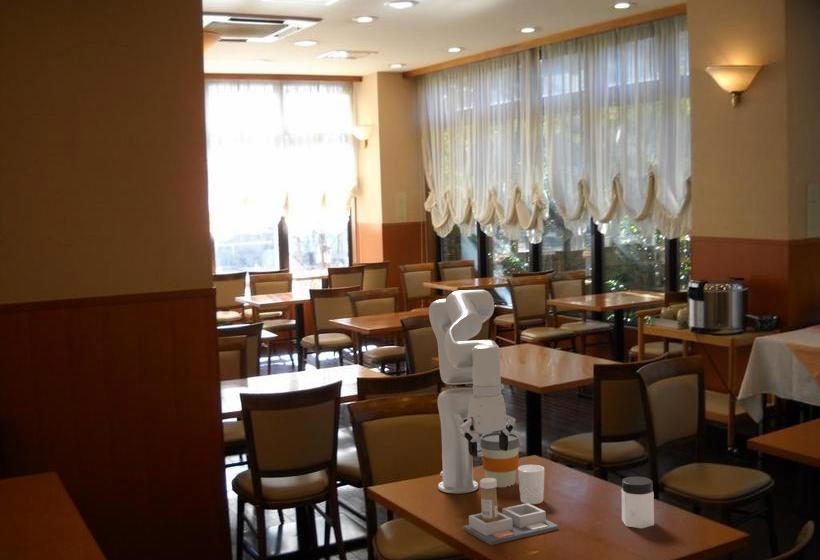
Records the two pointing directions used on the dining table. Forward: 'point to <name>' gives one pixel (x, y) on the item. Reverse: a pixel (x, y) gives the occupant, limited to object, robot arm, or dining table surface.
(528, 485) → the white cup
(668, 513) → the dining table surface
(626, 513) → the jar
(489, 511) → the sprinkles bottle
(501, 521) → the socket board
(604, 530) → the dining table surface
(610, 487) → the dining table surface
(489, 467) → the reusable coffee cup
